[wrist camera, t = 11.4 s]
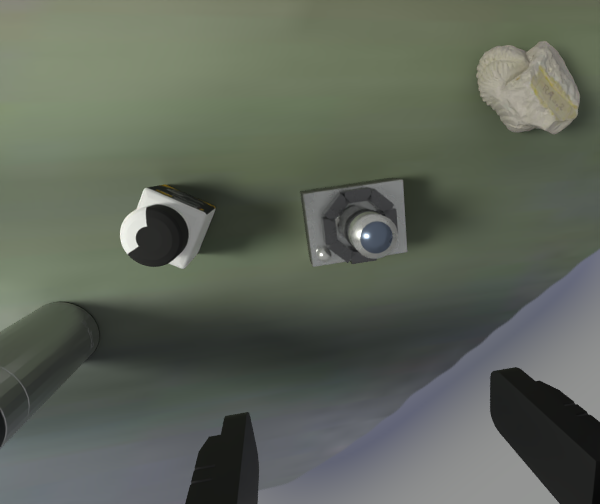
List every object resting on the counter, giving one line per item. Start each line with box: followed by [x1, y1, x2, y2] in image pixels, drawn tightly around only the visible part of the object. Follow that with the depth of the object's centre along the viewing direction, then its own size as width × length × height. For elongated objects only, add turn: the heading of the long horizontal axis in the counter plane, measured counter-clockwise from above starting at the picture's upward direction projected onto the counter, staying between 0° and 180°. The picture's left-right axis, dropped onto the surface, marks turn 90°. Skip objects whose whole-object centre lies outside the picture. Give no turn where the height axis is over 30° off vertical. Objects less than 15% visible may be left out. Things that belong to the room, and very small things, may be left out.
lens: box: [339, 206, 398, 259], centre depth 37 cm, size 5×5×8 cm
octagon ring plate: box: [300, 178, 407, 267], centre depth 43 cm, size 12×9×7 cm
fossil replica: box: [476, 41, 580, 134], centre depth 40 cm, size 12×8×10 cm
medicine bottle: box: [120, 185, 216, 269], centre depth 39 cm, size 7×7×12 cm
